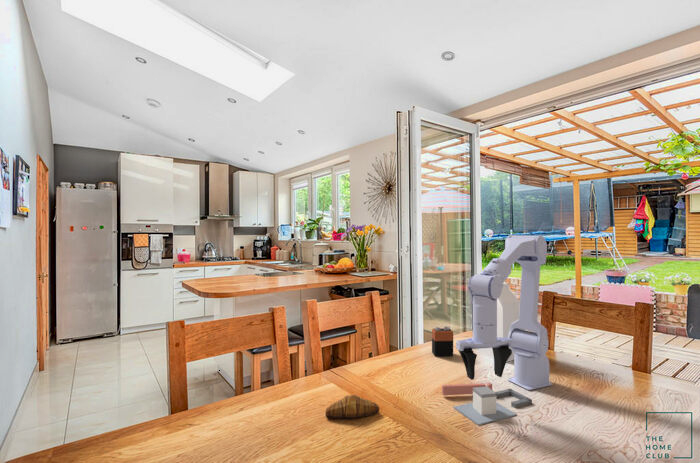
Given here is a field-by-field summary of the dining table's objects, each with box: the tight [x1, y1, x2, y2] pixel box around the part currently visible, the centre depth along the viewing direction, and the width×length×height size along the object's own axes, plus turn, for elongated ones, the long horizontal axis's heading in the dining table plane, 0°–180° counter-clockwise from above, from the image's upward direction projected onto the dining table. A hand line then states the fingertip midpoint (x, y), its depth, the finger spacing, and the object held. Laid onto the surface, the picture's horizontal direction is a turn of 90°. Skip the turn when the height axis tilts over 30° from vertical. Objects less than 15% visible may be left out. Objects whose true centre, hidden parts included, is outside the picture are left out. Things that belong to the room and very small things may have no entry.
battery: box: [431, 326, 454, 357], centre depth 132 cm, size 4×7×10 cm, turn 93°
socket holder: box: [494, 388, 533, 409], centre depth 98 cm, size 6×7×1 cm
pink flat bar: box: [441, 382, 493, 396], centre depth 100 cm, size 1×14×3 cm, turn 95°
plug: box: [472, 385, 497, 415], centre depth 91 cm, size 4×4×5 cm
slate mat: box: [453, 401, 518, 426], centre depth 91 cm, size 12×9×1 cm
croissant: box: [325, 394, 380, 419], centre depth 90 cm, size 14×7×5 cm, turn 100°
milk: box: [476, 282, 524, 362], centre depth 133 cm, size 12×12×26 cm
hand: (484, 376), depth 91 cm, fingers open, 7 cm apart
